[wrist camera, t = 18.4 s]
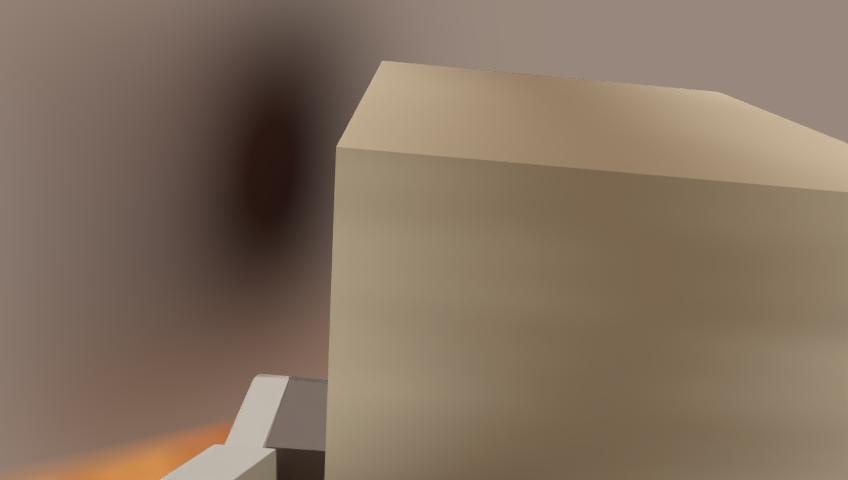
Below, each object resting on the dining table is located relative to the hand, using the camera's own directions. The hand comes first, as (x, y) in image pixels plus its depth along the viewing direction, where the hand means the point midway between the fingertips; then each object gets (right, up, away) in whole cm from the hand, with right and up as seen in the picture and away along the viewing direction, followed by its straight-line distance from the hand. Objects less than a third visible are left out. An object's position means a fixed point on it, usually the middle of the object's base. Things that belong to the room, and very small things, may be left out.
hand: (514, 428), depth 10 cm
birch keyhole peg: (-1, -8, +3) cm, 9 cm away
